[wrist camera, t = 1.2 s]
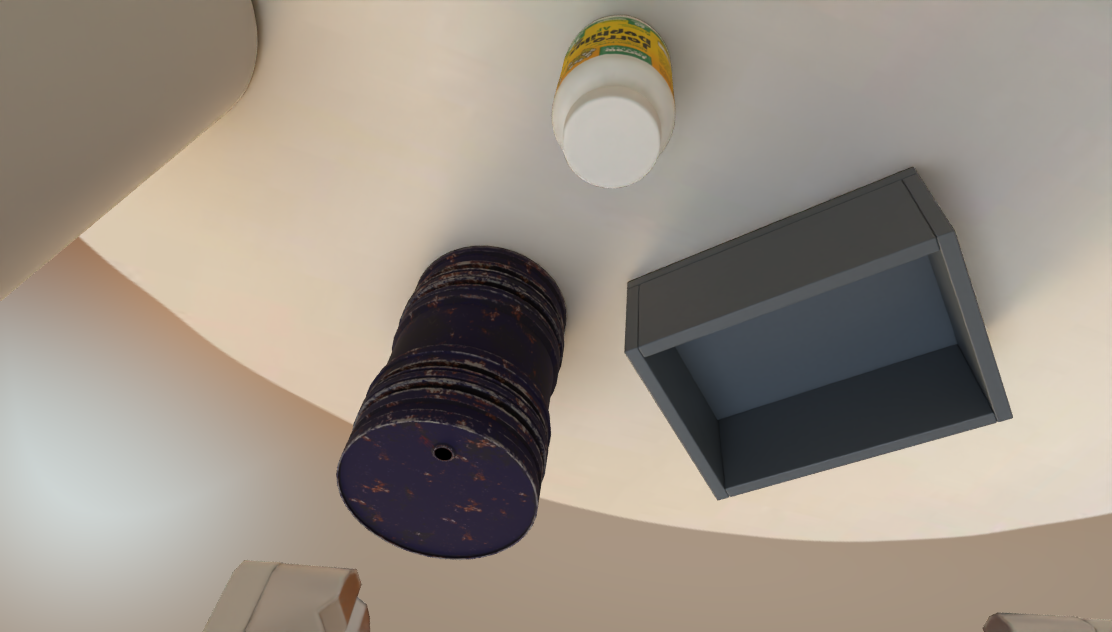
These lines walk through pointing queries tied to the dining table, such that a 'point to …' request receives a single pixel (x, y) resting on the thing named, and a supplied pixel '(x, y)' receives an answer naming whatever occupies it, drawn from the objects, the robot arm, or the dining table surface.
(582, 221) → the dining table surface
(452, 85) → the dining table surface
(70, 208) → the cylinder vase
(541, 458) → the dark barrel
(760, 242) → the box shelf
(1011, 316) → the dining table surface
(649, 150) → the supplement bottle
